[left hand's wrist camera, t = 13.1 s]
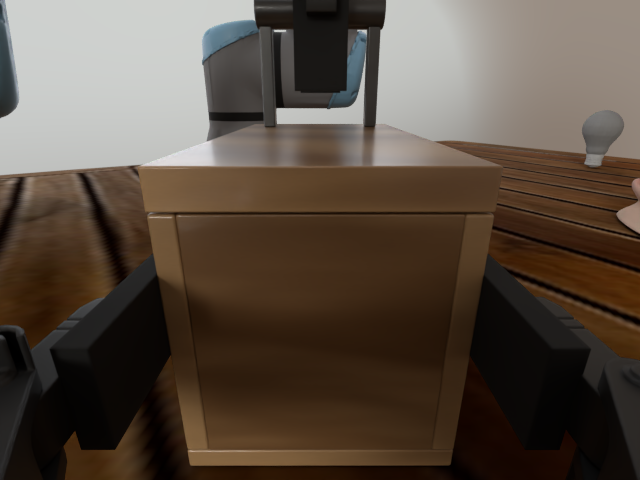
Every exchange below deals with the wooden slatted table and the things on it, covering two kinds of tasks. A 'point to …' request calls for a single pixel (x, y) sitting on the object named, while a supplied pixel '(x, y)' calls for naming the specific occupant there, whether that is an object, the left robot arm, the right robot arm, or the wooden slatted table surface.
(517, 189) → the wooden slatted table surface
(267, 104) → the lid
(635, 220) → the anatomical model
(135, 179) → the wooden slatted table surface
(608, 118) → the light bulb
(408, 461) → the chest
